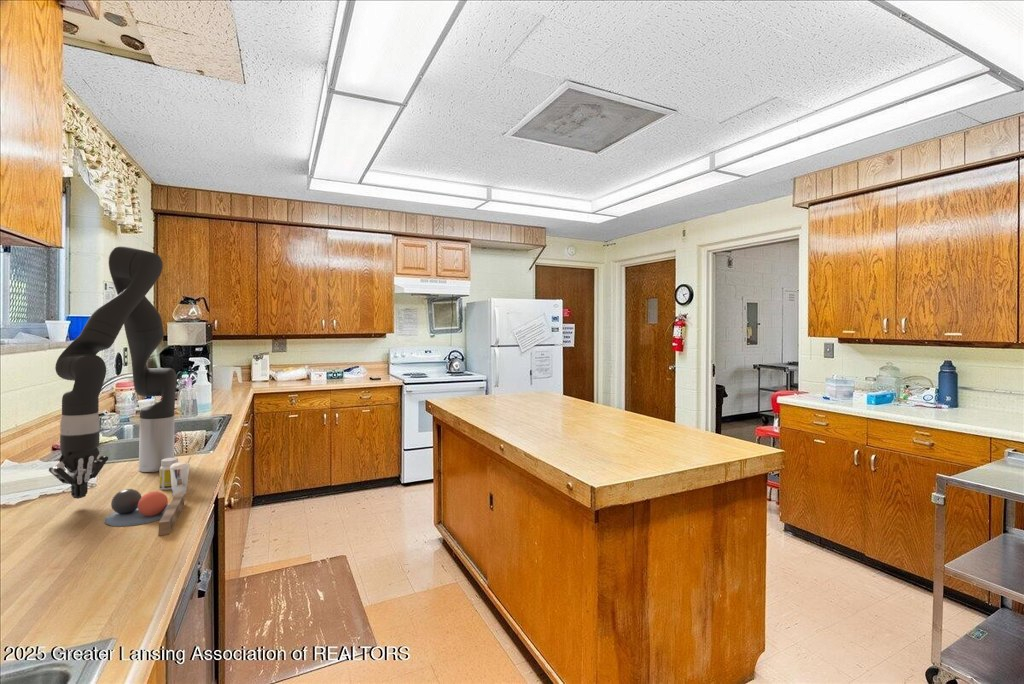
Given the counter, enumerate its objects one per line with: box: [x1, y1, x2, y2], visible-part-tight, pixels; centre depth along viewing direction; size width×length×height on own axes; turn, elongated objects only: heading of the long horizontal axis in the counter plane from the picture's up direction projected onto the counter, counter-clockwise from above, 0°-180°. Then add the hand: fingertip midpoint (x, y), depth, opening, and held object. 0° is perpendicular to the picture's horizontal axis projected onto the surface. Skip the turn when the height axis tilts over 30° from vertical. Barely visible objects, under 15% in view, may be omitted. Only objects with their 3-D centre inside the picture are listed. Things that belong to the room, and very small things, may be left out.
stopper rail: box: [157, 493, 186, 536], centre depth 117 cm, size 20×2×3 cm, turn 26°
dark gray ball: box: [110, 488, 143, 514], centre depth 120 cm, size 6×6×6 cm
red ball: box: [138, 490, 169, 516], centre depth 119 cm, size 6×6×6 cm
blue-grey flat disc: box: [104, 504, 169, 527], centre depth 119 cm, size 14×14×1 cm
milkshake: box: [170, 456, 192, 497], centre depth 134 cm, size 4×5×10 cm
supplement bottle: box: [158, 457, 179, 491], centre depth 139 cm, size 5×5×8 cm
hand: (79, 497), depth 122 cm, fingers closed
